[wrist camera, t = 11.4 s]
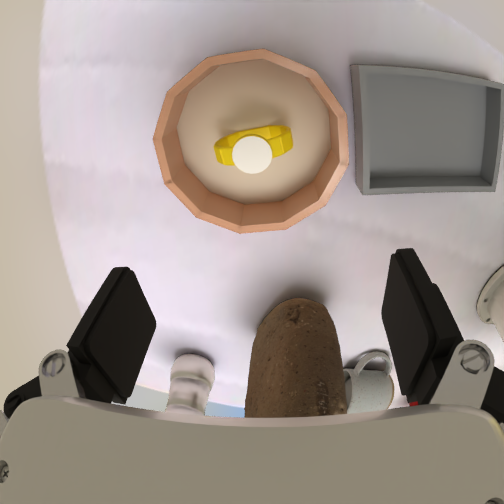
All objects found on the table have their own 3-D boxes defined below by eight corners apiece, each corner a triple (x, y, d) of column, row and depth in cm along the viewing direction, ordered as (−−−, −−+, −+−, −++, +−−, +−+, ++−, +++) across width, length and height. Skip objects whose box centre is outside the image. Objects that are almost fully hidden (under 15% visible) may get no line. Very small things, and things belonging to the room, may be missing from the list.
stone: (289, 276, 34) (293, 454, 18) (340, 297, 36) (366, 459, 19) (246, 335, 41) (231, 479, 24) (291, 350, 42) (291, 486, 26)
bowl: (328, 47, 20) (340, 44, 17) (338, 199, 29) (348, 224, 25) (160, 71, 22) (138, 74, 18) (192, 213, 30) (180, 239, 27)
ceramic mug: (372, 385, 48) (379, 422, 41) (330, 384, 47) (334, 424, 41) (400, 349, 42) (412, 390, 35) (354, 346, 41) (362, 391, 35)
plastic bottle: (181, 342, 43) (149, 471, 26) (224, 358, 44) (205, 485, 28) (170, 362, 46) (141, 476, 30) (208, 376, 48) (189, 489, 31)
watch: (284, 113, 24) (294, 126, 19) (291, 144, 25) (301, 165, 20) (215, 128, 25) (206, 145, 20) (223, 158, 26) (216, 182, 21)
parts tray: (489, 80, 19) (505, 84, 17) (482, 181, 25) (495, 191, 23) (350, 64, 21) (358, 65, 19) (355, 183, 27) (362, 195, 25)
